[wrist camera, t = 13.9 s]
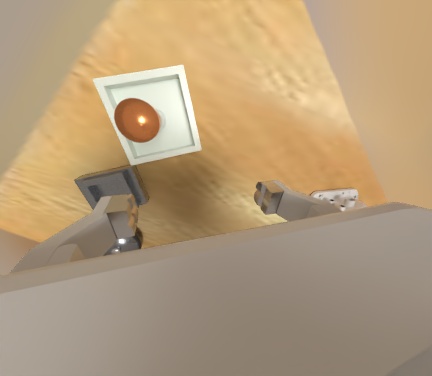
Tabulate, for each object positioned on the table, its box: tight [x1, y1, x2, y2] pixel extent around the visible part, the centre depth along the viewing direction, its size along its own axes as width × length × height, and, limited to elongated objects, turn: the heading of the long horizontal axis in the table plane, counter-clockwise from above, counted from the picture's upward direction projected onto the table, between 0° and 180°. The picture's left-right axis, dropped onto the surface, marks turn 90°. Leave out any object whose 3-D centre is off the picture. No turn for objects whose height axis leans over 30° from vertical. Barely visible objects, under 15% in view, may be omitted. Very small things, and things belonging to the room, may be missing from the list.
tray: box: [93, 65, 202, 166], centre depth 27 cm, size 13×13×4 cm
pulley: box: [103, 231, 142, 256], centre depth 34 cm, size 9×9×5 cm
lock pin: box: [114, 98, 167, 143], centre depth 21 cm, size 4×4×13 cm
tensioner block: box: [74, 165, 149, 210], centre depth 32 cm, size 10×16×4 cm, turn 10°
